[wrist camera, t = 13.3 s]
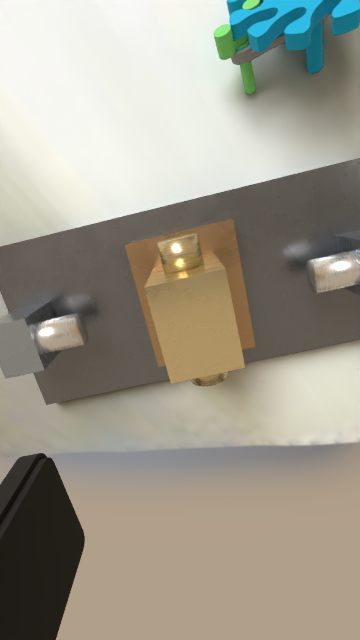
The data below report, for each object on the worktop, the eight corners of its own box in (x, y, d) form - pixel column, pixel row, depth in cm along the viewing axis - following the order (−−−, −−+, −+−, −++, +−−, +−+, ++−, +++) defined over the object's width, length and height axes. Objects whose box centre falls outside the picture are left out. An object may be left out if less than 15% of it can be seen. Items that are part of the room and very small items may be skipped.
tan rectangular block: (207, 226, 24) (218, 232, 17) (233, 350, 27) (250, 395, 20) (147, 241, 24) (134, 253, 18) (178, 362, 27) (178, 410, 21)
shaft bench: (366, 157, 25) (420, 141, 20) (375, 327, 30) (422, 355, 24) (-6, 248, 27) (-55, 258, 22) (52, 396, 32) (24, 436, 26)
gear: (368, -127, 19) (469, -66, 15) (359, -4, 24) (432, 69, 20) (191, -16, 22) (230, 64, 18) (216, 73, 27) (251, 153, 23)
